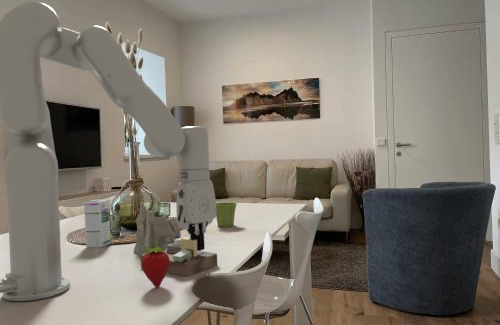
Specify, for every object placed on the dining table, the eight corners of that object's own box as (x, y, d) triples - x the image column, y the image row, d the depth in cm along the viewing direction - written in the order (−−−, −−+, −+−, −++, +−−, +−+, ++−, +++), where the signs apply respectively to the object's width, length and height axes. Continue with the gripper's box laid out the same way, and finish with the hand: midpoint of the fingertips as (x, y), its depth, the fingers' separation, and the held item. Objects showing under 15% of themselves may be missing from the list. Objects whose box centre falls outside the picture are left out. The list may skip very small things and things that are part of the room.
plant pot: (210, 225, 161) (209, 203, 160) (232, 223, 165) (231, 201, 164) (218, 229, 152) (217, 205, 152) (241, 226, 156) (240, 203, 156)
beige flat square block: (193, 257, 98) (193, 240, 98) (181, 254, 101) (180, 238, 100) (197, 255, 99) (196, 239, 99) (184, 253, 102) (184, 237, 101)
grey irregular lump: (146, 259, 110) (147, 203, 111) (126, 250, 124) (127, 201, 125) (197, 253, 119) (198, 202, 120) (174, 246, 133) (175, 199, 133)
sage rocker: (181, 261, 95) (180, 256, 95) (173, 260, 97) (172, 255, 96) (191, 255, 98) (190, 250, 98) (184, 254, 99) (183, 249, 99)
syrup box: (102, 247, 126) (100, 201, 126) (85, 247, 128) (83, 201, 127) (112, 243, 132) (110, 198, 132) (95, 243, 133) (94, 199, 133)
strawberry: (139, 294, 83) (137, 245, 83) (144, 282, 91) (143, 237, 90) (169, 292, 84) (167, 243, 84) (171, 280, 91) (170, 236, 91)
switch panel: (186, 276, 94) (185, 256, 94) (141, 266, 103) (140, 248, 103) (217, 265, 103) (216, 246, 103) (173, 257, 112) (172, 239, 112)
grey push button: (181, 251, 104) (180, 241, 104) (172, 249, 106) (172, 239, 106) (189, 248, 107) (189, 238, 107) (181, 247, 109) (181, 237, 109)
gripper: (183, 178, 93) (187, 258, 94) (225, 174, 105) (228, 244, 106) (161, 178, 98) (164, 254, 98) (203, 174, 110) (206, 242, 110)
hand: (197, 249), depth 102 cm, fingers closed
